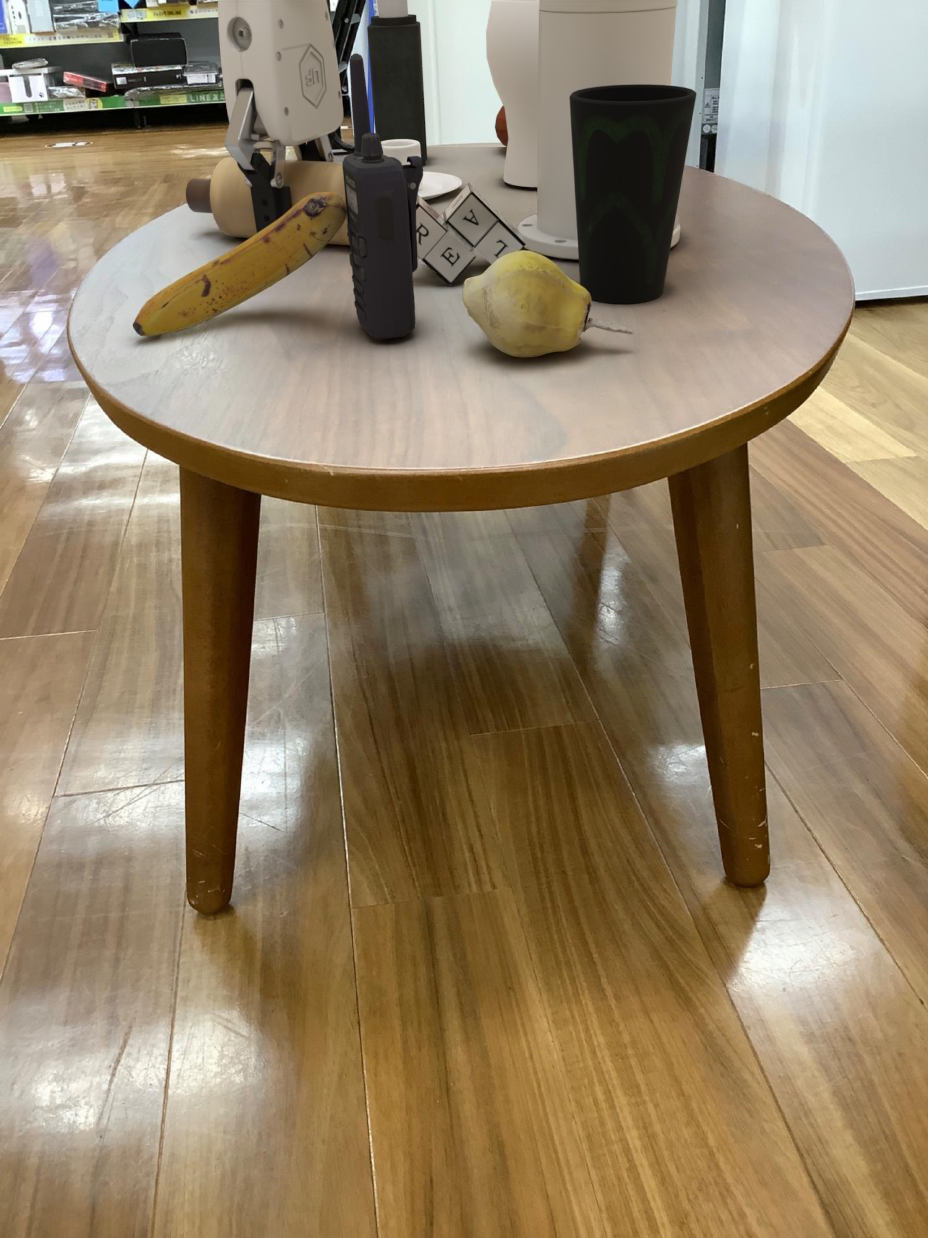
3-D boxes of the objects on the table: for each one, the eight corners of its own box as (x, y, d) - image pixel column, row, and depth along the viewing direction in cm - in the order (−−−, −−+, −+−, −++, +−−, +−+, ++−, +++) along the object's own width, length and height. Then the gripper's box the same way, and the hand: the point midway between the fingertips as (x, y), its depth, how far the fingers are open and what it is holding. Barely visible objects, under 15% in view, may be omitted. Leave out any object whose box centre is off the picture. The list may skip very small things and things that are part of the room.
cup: (687, 278, 70) (705, 84, 63) (668, 312, 64) (686, 102, 57) (579, 271, 72) (585, 83, 65) (552, 303, 66) (555, 101, 59)
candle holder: (367, 214, 88) (363, 161, 86) (316, 190, 97) (310, 141, 94) (485, 195, 93) (484, 144, 90) (425, 173, 101) (423, 126, 99)
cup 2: (565, 163, 102) (569, -10, 94) (619, 182, 94) (629, -5, 86) (470, 176, 99) (465, -3, 90) (518, 196, 91) (518, 3, 82)
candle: (425, 166, 105) (409, -133, 90) (376, 167, 105) (353, -130, 91) (427, 156, 109) (413, -131, 95) (381, 158, 109) (359, -128, 95)
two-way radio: (350, 318, 64) (324, 51, 56) (417, 309, 65) (401, 46, 57) (371, 346, 60) (345, 61, 51) (441, 336, 61) (428, 55, 52)
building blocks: (472, 289, 76) (391, 214, 72) (521, 234, 74) (441, 154, 70) (477, 311, 71) (391, 233, 68) (530, 254, 69) (444, 170, 66)
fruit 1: (308, 182, 54) (337, 233, 55) (353, 177, 62) (377, 222, 63) (99, 317, 60) (129, 363, 60) (165, 297, 68) (190, 337, 69)
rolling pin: (420, 240, 81) (417, 159, 78) (389, 256, 76) (384, 171, 73) (220, 226, 87) (209, 150, 84) (179, 240, 82) (166, 161, 79)
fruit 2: (637, 370, 56) (460, 353, 55) (615, 363, 62) (454, 347, 61) (653, 261, 54) (470, 241, 54) (629, 264, 60) (464, 246, 59)
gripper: (247, -31, 63) (285, 261, 74) (367, -43, 76) (385, 207, 87) (149, -29, 66) (198, 254, 76) (281, -41, 79) (308, 202, 89)
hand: (298, 226), depth 81 cm, fingers closed on rolling pin, 6 cm apart
